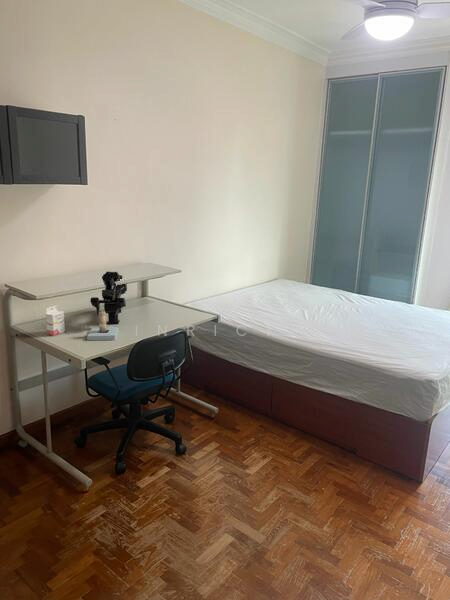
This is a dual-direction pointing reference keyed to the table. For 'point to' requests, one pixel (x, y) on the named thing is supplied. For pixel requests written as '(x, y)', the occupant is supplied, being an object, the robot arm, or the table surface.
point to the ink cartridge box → (54, 321)
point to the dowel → (102, 322)
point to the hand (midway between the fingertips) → (106, 315)
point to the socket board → (103, 334)
